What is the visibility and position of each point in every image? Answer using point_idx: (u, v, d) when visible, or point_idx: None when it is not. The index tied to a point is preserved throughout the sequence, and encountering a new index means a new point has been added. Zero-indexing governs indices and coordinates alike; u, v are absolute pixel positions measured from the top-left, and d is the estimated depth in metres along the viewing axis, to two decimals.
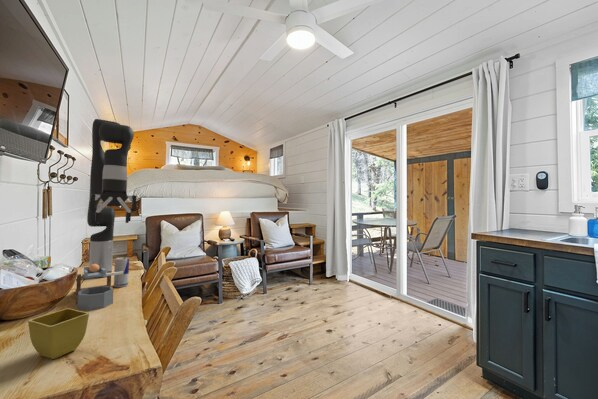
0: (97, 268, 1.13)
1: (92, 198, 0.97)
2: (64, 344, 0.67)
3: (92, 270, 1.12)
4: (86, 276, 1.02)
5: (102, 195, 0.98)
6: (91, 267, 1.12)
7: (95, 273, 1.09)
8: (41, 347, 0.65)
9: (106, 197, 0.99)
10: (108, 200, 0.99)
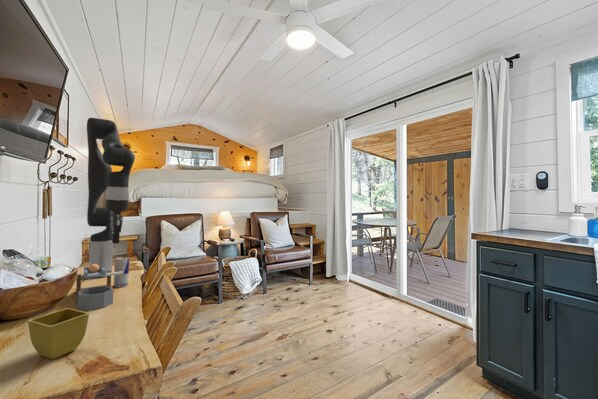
0: (97, 268, 1.13)
1: (121, 223, 1.06)
2: (64, 344, 0.67)
3: (92, 270, 1.12)
4: (86, 276, 1.02)
5: (121, 216, 1.07)
6: (91, 267, 1.12)
7: (95, 273, 1.09)
8: (41, 347, 0.65)
9: (120, 219, 1.08)
10: (122, 219, 1.09)
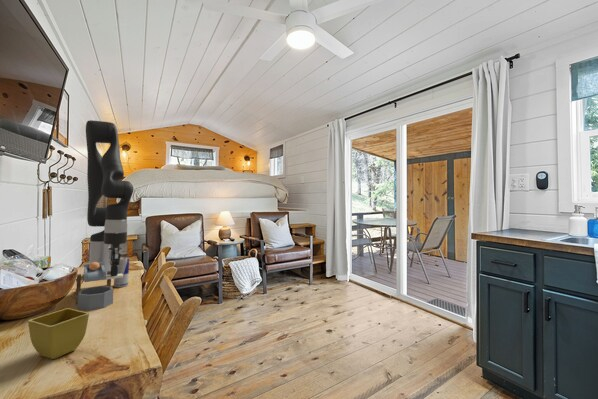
0: (97, 267, 1.13)
1: None
2: (64, 344, 0.67)
3: (92, 269, 1.11)
4: (86, 280, 1.02)
5: (119, 249, 1.07)
6: (91, 266, 1.11)
7: (95, 273, 1.09)
8: (41, 347, 0.65)
9: (119, 251, 1.08)
10: (120, 252, 1.09)
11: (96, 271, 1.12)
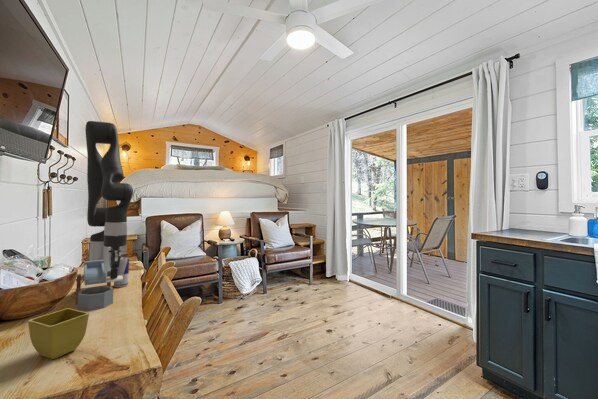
0: None
1: (119, 259, 1.06)
2: (64, 344, 0.67)
3: None
4: (86, 283, 1.02)
5: (119, 252, 1.07)
6: None
7: (95, 273, 1.09)
8: (41, 347, 0.65)
9: (118, 254, 1.08)
10: (120, 254, 1.09)
11: (96, 270, 1.12)
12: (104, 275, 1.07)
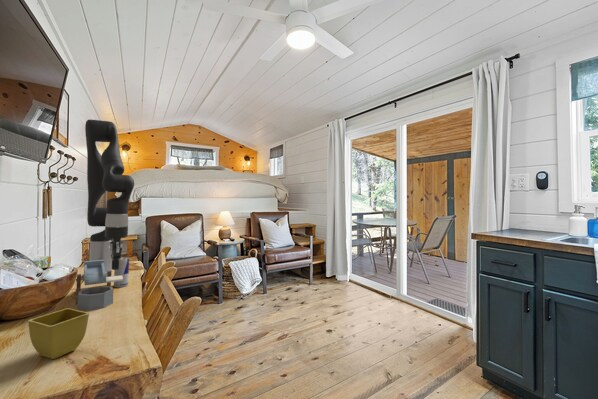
0: None
1: None
2: (64, 344, 0.67)
3: None
4: (86, 283, 1.02)
5: (120, 243, 1.07)
6: None
7: (95, 273, 1.09)
8: (41, 347, 0.65)
9: (120, 245, 1.08)
10: None
11: (96, 270, 1.12)
12: (104, 275, 1.07)
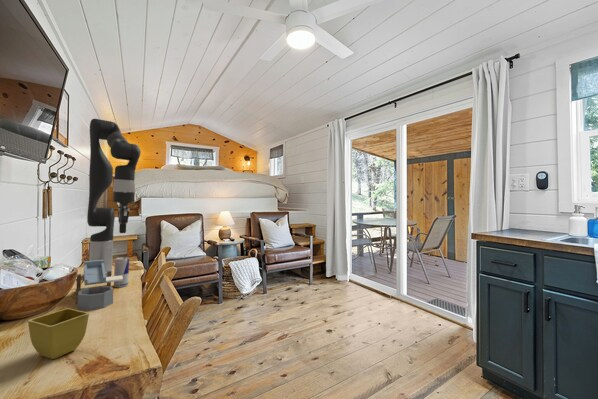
0: None
1: (128, 214, 1.12)
2: (64, 344, 0.67)
3: None
4: (86, 283, 1.02)
5: (127, 207, 1.13)
6: None
7: (95, 273, 1.09)
8: (41, 347, 0.65)
9: None
10: None
11: (96, 270, 1.12)
12: (104, 275, 1.07)
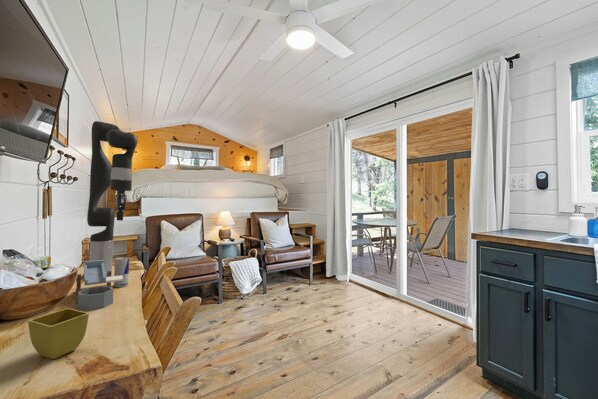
0: None
1: (125, 202, 1.14)
2: (64, 344, 0.67)
3: None
4: (86, 283, 1.02)
5: (124, 195, 1.15)
6: None
7: (95, 273, 1.09)
8: (41, 347, 0.65)
9: (124, 197, 1.16)
10: (126, 198, 1.17)
11: (96, 270, 1.12)
12: (104, 275, 1.07)
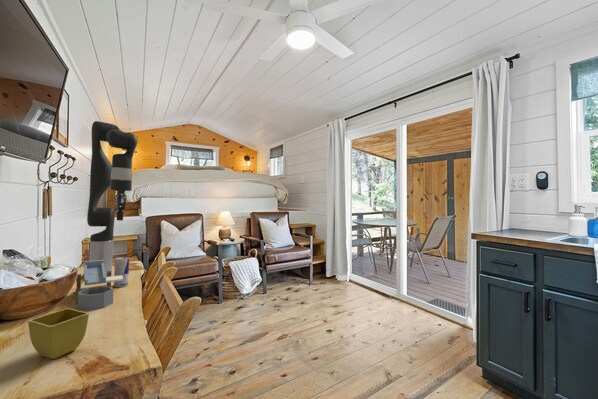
0: None
1: (125, 202, 1.14)
2: (64, 344, 0.67)
3: None
4: (86, 283, 1.02)
5: (124, 195, 1.15)
6: None
7: (95, 273, 1.09)
8: (41, 347, 0.65)
9: (124, 197, 1.16)
10: (126, 198, 1.17)
11: (96, 270, 1.12)
12: (104, 275, 1.07)
